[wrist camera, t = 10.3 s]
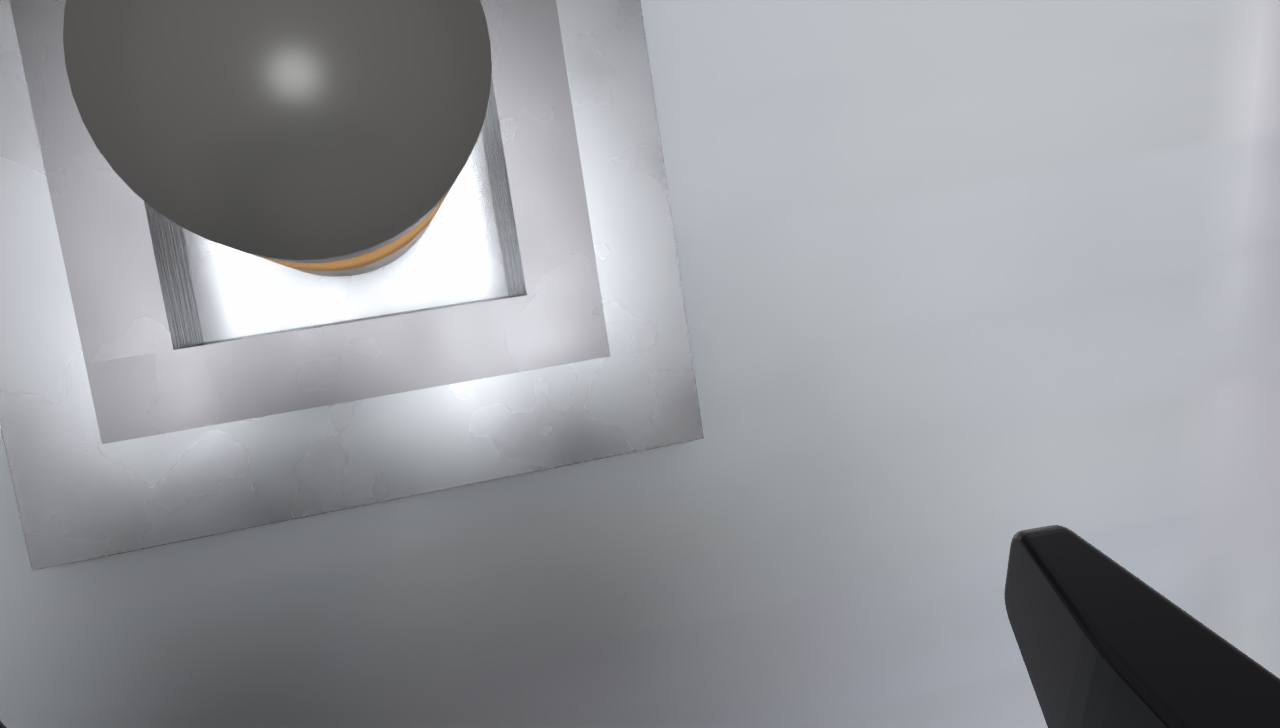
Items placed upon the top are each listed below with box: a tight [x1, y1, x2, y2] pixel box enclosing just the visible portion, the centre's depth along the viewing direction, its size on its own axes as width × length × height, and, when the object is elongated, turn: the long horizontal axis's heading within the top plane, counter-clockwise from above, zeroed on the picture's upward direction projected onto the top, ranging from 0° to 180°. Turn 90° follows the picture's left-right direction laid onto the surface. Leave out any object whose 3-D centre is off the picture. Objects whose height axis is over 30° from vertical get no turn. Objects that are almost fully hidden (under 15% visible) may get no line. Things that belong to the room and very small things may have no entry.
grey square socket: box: [0, 0, 704, 570], centre depth 20 cm, size 14×14×4 cm
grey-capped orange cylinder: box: [63, 0, 492, 277], centre depth 16 cm, size 4×4×10 cm
